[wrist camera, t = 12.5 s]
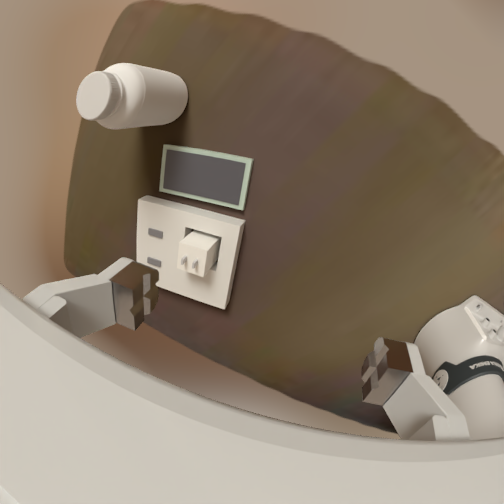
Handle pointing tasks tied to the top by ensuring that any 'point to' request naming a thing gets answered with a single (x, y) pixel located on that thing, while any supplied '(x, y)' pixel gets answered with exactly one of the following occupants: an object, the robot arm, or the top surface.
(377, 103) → the top surface
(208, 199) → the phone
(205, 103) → the top surface
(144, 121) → the pill bottle
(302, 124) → the top surface
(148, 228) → the outlet plate
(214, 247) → the charger
